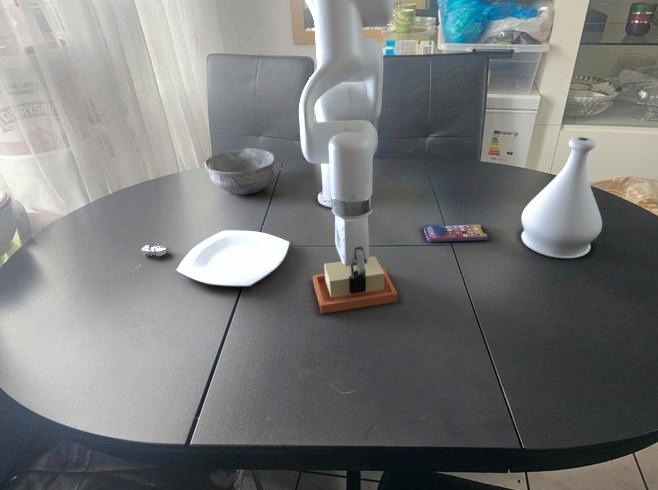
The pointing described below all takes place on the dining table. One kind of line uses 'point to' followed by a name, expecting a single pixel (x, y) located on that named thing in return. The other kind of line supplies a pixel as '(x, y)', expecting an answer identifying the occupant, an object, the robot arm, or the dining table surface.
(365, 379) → the dining table surface
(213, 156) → the bowl
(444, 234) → the smartphone
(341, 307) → the shallow tray
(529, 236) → the vase
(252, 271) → the plate
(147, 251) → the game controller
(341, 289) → the foam pad
